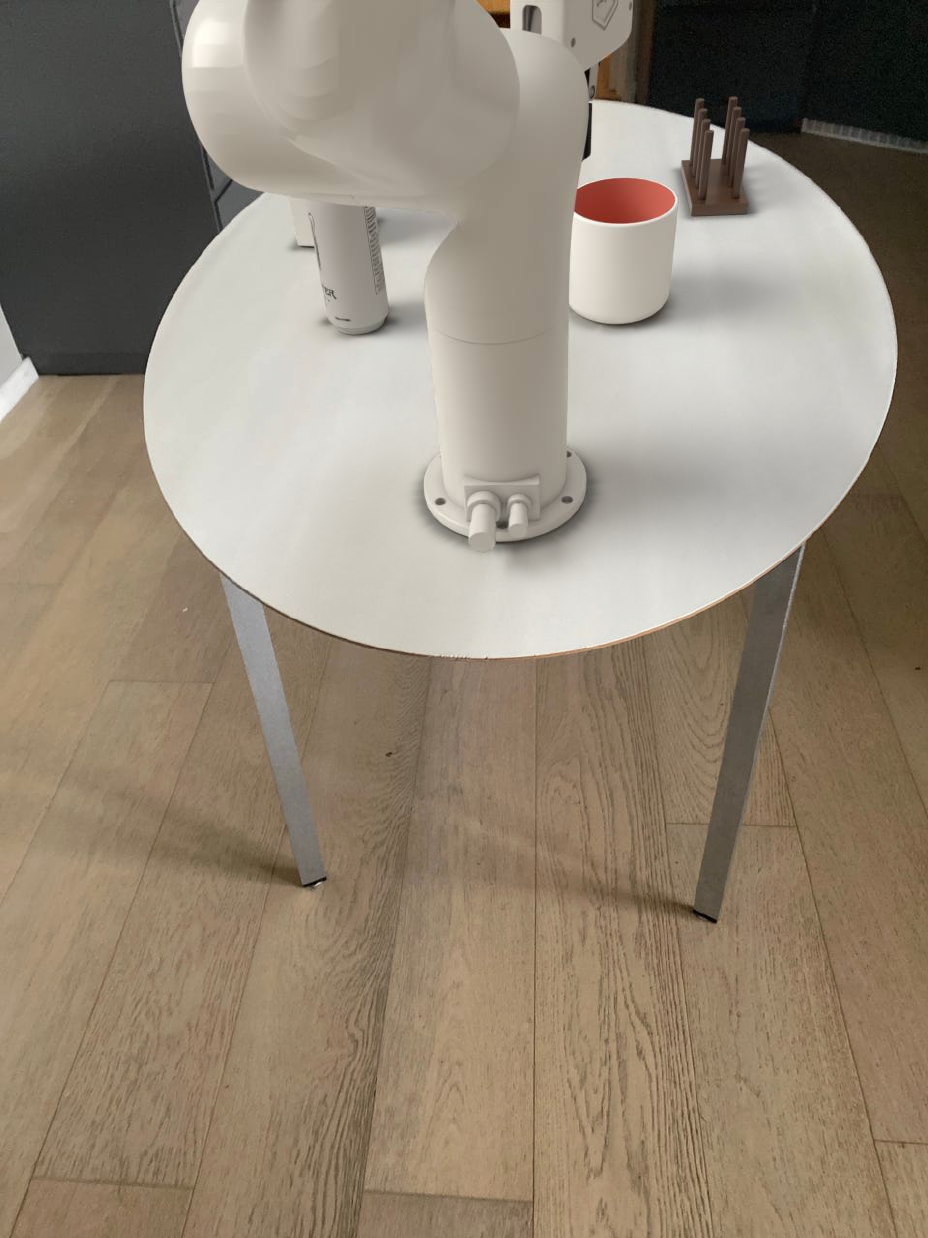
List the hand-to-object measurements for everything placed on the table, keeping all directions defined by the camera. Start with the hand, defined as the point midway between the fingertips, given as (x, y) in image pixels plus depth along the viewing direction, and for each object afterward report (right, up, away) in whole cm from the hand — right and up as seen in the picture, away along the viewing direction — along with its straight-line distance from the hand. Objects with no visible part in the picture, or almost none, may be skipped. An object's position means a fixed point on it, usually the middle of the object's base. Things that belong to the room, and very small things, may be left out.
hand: (567, 157), depth 75 cm
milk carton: (-22, +7, +32) cm, 40 cm away
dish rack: (+20, +12, +33) cm, 40 cm away
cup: (+7, -6, +18) cm, 20 cm away
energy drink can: (-18, -7, +19) cm, 27 cm away
